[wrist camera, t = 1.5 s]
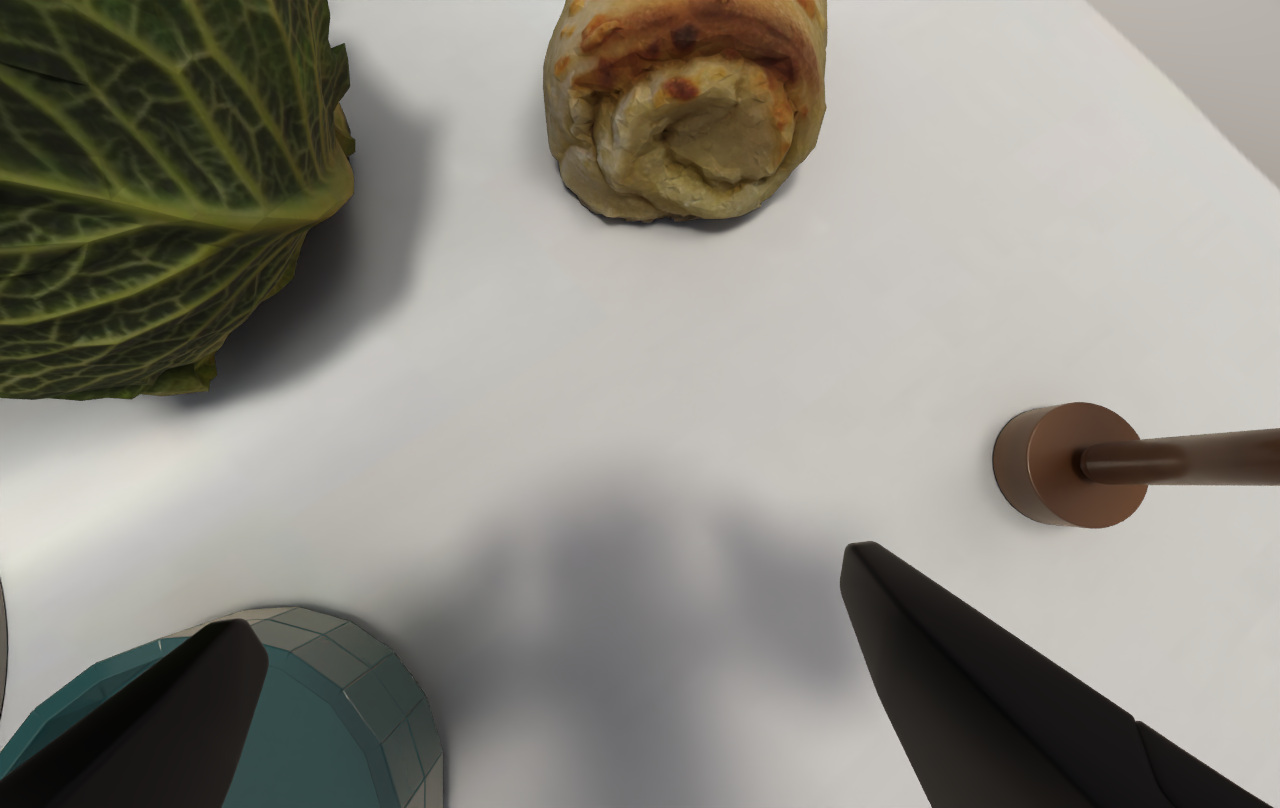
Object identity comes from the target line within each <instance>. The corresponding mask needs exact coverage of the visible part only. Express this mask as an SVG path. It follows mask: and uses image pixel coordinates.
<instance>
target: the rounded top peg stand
mask: <svg viewBox="0 0 1280 808" xmlns="http://www.w3.org/2000/svg"><path fill="white" fill-rule="evenodd" d="M993 464H994V472H995V476H996V479H997V482H998V485H999V487H1000V489H1001V491H1002V493H1003V494H1004V495H1005V497H1006V498H1007V500H1008V501H1009V502H1010V503H1011V504H1012V505H1013V506H1014V507H1015V508H1016V509H1017V510H1018V511H1020V512H1021V513H1022V514H1024V515H1025V516H1027V517H1029V518H1031V519H1033V520H1035V521H1038V522H1041V523H1045V524H1052V525H1061V526H1071V527H1081V528H1105V527H1110V526H1113V525H1116V524H1118V523H1120V522H1122V521H1124V520H1125V519H1127V518H1128V517H1130V516H1131V515H1132V514H1133V513H1134V512H1135V511H1136V510H1137V508H1138V507H1139V506H1140V504H1141V502H1142V501H1143V499H1144V497H1145V494H1146V492H1147V488H1148V485H1246V486H1280V428H1276V429H1263V430H1251V431H1239V432H1227V433H1215V434H1203V435H1190V436H1178V437H1166V438H1154V439H1142V440H1140V438H1139V436H1138V435H1137V433H1136V432H1135V430H1134V429H1133V428H1132V427H1131V426H1130V425H1129V424H1128V423H1127V422H1126V421H1125V420H1124V419H1123V418H1122V417H1120V416H1119V415H1118V414H1116V413H1115V412H1113V411H1111V410H1109V409H1107V408H1105V407H1102V406H1099V405H1096V404H1092V403H1085V402H1074V403H1067V404H1062V405H1056V406H1050V407H1045V408H1039V409H1034V410H1030V411H1026V412H1024V413H1022V414H1020V415H1018V416H1017V417H1015V418H1014V419H1012V420H1011V421H1010V422H1009V423H1008V424H1007V425H1006V426H1005V427H1004V429H1003V430H1002V432H1001V433H1000V435H999V437H998V439H997V442H996V445H995V449H994V458H993Z"/></svg>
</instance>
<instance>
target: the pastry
mask: <svg viewBox="0 0 1280 808" xmlns="http://www.w3.org/2000/svg"><path fill="white" fill-rule="evenodd" d="M826 46H827V0H566V2H565V6H564V9H563V11H562V14H561V16H560V18H559V20H558V23H557V25H556V27H555V29H554V31H553V35H552V38H551V39H550V42H549V45H548V49H547V53H546V57H545V61H544V67H543V91H544V102H545V113H546V123H547V132H548V141H549V148H550V151H551V153H552V155H553V156H554V157H555V159H556V160H557V161H558V162H559V167H560V174H561V178H562V180H563V182H564V183H565V185H566V187H567V188H570V190H571V191H572V192H573V193H575V194H577V196H578V198H579V200H580V203H581V204H582V205H585V206H586V207H587V208H589V211H592V212H594V213H595V214H603V215H605V216H606V217H614V218H615V217H621V218H624V219H625V221H639V220H641V221H642V222H643V223H651V222H652V221H653V220H654V219H655V218H658V219H663V218H664V217H668V219H671V218H673V219H674V220H675V222H679V221H688V220H694V219H700V218H704V219H724V218H730V217H737V216H742V215H744V214H746V213H748V212H750V211H753V210H755V209H757V208H759V207H761V202H763V201H764V200H766V199H768V198H770V197H771V196H772V195H773V194H774V193H775V191H776V190H777V189H778V188H779V187H780V186H781V185H782V183H783V182H784V181H785V180H786V179H787V178H788V176H789V175H790V173H791V172H792V171H793V170H794V169H795V168H796V167H797V166H798V165H799V164H800V163H801V162H803V161H804V160H805V159H806V157H807V156H808V155H809V153H810V152H811V151H812V150H813V149H814V148H815V146H816V142H817V139H818V135H819V132H820V128H821V125H822V121H823V117H824V114H825V111H826V108H827V107H826V104H825V85H824V75H825V62H826V51H825V49H826Z"/></svg>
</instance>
